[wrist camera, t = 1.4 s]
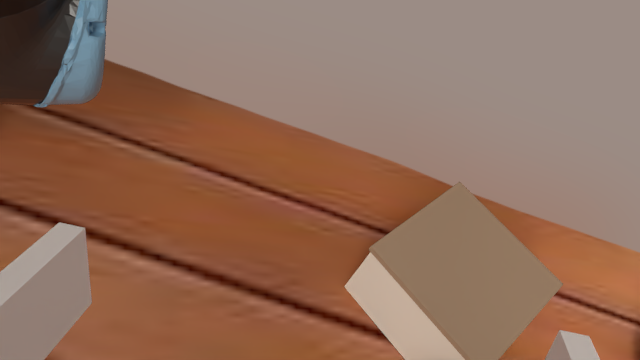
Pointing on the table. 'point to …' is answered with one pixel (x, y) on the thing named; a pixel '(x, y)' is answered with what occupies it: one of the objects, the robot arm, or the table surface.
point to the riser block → (452, 282)
